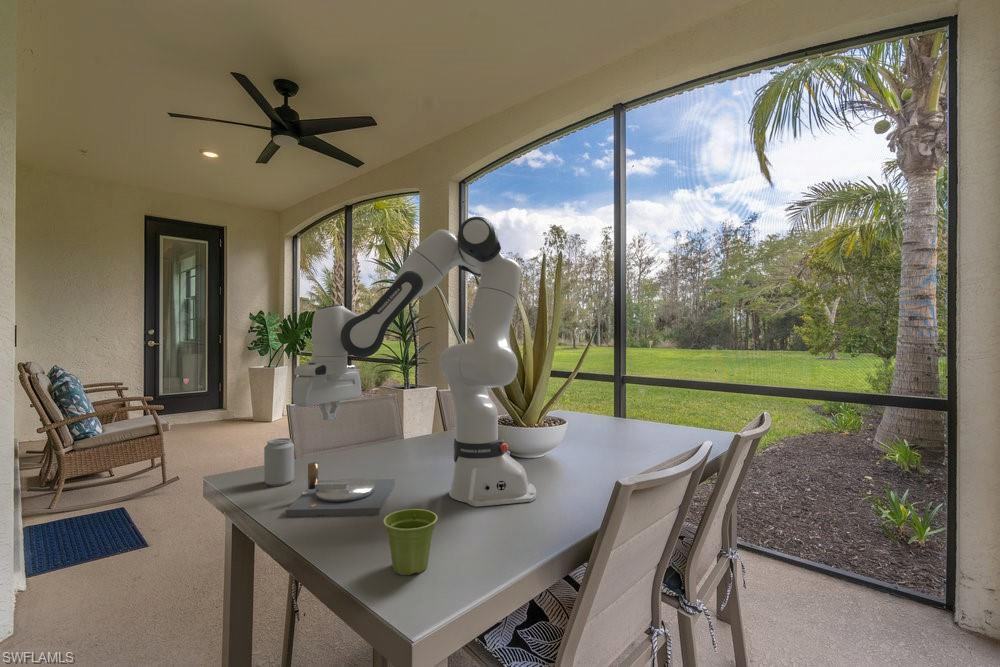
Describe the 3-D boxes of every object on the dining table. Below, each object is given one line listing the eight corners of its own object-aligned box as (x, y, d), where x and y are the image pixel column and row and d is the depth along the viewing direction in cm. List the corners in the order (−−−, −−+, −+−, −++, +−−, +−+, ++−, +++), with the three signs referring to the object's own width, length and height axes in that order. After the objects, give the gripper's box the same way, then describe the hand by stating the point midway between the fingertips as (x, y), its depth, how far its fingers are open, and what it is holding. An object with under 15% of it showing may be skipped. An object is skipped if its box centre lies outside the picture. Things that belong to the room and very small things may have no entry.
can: (282, 488, 124) (282, 443, 124) (258, 486, 126) (258, 442, 126) (299, 479, 131) (299, 437, 131) (276, 477, 133) (276, 436, 133)
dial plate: (394, 484, 127) (394, 478, 127) (379, 514, 106) (379, 507, 106) (316, 486, 126) (316, 479, 126) (285, 516, 105) (285, 508, 105)
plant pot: (400, 551, 88) (400, 506, 88) (445, 558, 85) (445, 511, 85) (372, 576, 79) (373, 525, 79) (422, 584, 76) (422, 532, 76)
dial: (379, 482, 123) (379, 455, 123) (367, 501, 109) (367, 471, 109) (317, 483, 122) (317, 456, 122) (297, 502, 108) (297, 472, 108)
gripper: (350, 364, 132) (350, 412, 132) (288, 368, 114) (288, 425, 114) (366, 364, 129) (366, 414, 129) (306, 369, 111) (306, 427, 111)
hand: (329, 419), depth 121 cm, fingers closed
